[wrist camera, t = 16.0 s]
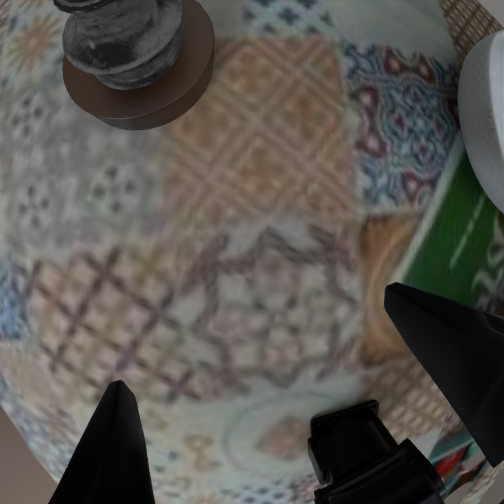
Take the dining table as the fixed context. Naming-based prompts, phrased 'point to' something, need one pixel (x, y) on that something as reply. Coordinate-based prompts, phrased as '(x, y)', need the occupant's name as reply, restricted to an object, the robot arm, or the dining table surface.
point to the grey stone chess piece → (123, 39)
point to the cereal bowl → (484, 113)
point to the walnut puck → (159, 92)
